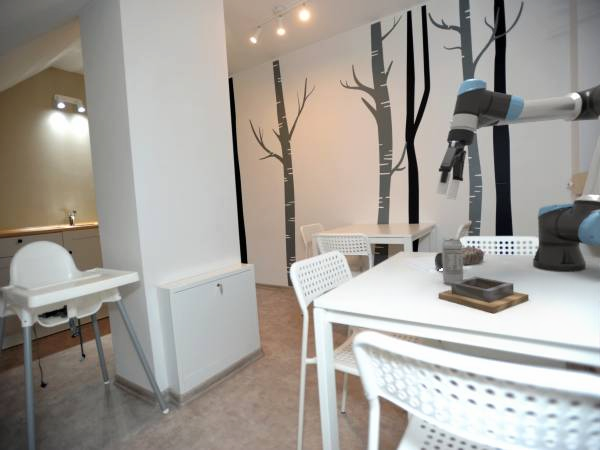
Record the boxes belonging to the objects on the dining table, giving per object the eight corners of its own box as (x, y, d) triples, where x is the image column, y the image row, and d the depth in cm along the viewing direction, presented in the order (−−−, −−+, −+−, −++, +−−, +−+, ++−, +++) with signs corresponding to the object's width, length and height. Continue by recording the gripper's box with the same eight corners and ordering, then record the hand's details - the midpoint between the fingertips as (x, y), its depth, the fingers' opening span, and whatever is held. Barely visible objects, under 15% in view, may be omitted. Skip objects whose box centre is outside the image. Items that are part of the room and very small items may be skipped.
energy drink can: (464, 281, 109) (463, 237, 108) (462, 286, 104) (460, 240, 103) (445, 280, 112) (443, 237, 111) (442, 285, 107) (440, 240, 106)
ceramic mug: (466, 271, 123) (465, 251, 122) (447, 274, 121) (446, 253, 120) (447, 266, 133) (446, 248, 132) (429, 269, 131) (428, 250, 131)
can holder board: (473, 287, 102) (472, 273, 102) (528, 300, 88) (528, 283, 88) (438, 298, 95) (438, 283, 94) (493, 313, 81) (492, 295, 80)
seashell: (465, 252, 145) (473, 234, 139) (484, 265, 139) (493, 247, 133) (444, 262, 139) (452, 245, 133) (462, 277, 133) (472, 259, 127)
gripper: (457, 140, 115) (443, 199, 117) (440, 118, 96) (423, 189, 97) (481, 141, 111) (466, 202, 113) (467, 118, 91) (449, 193, 93)
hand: (446, 196), depth 105 cm, fingers open, 13 cm apart
